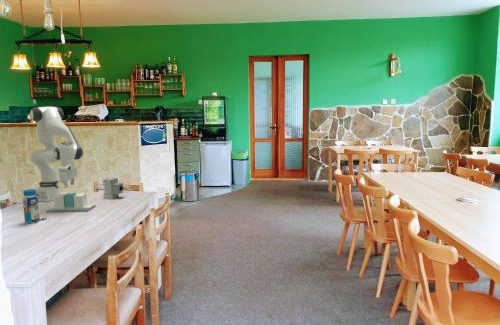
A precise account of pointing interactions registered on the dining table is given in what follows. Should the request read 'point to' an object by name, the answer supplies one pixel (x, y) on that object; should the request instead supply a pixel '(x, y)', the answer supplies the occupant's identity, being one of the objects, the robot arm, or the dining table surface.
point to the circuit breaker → (112, 188)
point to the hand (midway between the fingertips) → (69, 186)
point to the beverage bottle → (31, 206)
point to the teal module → (69, 199)
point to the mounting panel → (79, 206)
